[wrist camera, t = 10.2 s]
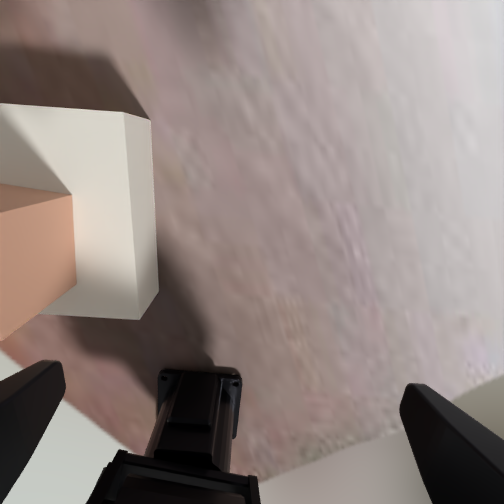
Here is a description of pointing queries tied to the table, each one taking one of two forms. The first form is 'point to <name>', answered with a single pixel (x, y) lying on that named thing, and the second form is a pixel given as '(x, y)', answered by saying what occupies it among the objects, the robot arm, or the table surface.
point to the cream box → (92, 199)
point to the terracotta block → (33, 253)
